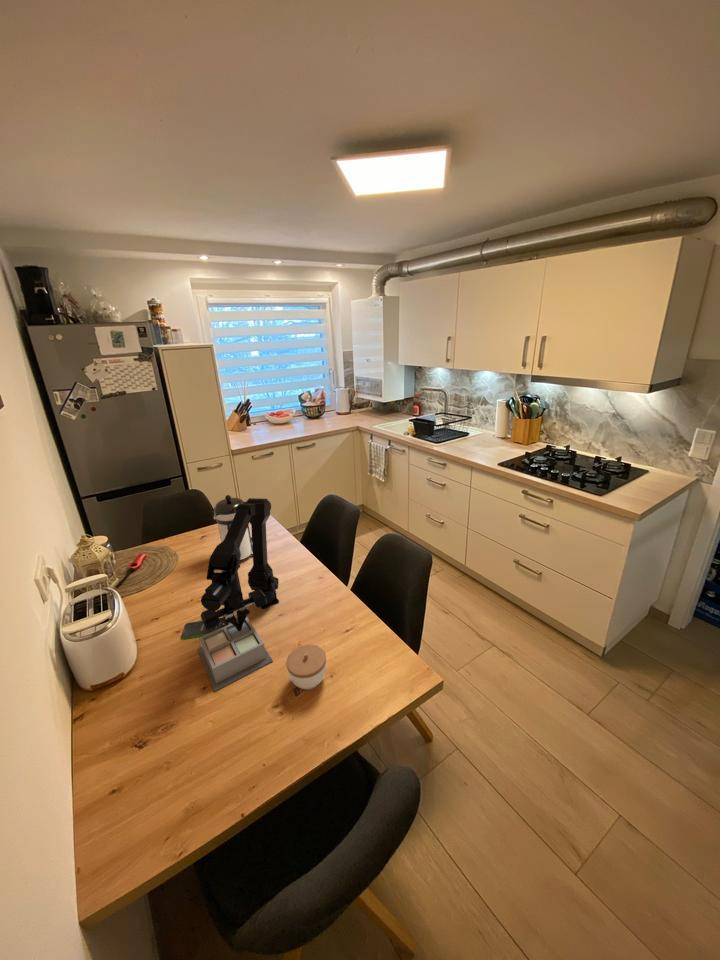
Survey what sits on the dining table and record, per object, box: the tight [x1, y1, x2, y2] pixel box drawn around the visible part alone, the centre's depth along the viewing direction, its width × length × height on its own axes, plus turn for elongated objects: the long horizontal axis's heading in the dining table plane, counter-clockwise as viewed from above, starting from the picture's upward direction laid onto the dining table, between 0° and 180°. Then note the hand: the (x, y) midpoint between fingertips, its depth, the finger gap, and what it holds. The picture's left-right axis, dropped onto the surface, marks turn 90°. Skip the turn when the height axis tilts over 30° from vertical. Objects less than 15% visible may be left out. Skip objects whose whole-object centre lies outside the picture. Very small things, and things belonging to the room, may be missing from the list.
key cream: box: [205, 632, 228, 650], centre depth 116 cm, size 6×6×3 cm
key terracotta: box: [211, 645, 235, 665], centre depth 111 cm, size 6×6×3 cm
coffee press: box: [213, 494, 253, 561], centre depth 166 cm, size 17×16×30 cm
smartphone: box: [180, 616, 231, 640], centre depth 128 cm, size 8×1×15 cm
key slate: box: [228, 622, 250, 639], centre depth 120 cm, size 6×6×3 cm
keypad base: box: [197, 616, 273, 692], centre depth 115 cm, size 17×19×6 cm
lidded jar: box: [285, 643, 327, 691], centre depth 105 cm, size 11×11×9 cm
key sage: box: [235, 635, 258, 653], centre depth 114 cm, size 6×6×3 cm
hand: (239, 630), depth 119 cm, fingers closed
